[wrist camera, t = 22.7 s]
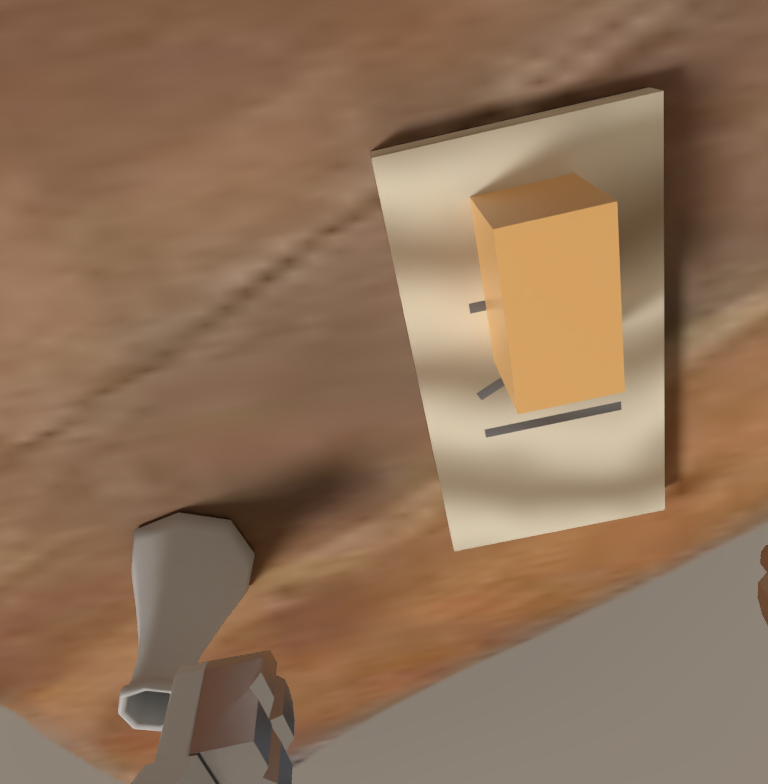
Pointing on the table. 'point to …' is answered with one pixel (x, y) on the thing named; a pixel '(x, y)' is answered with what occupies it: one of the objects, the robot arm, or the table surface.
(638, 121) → the birch board
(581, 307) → the block
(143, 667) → the flask
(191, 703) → the robot arm
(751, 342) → the table surface
